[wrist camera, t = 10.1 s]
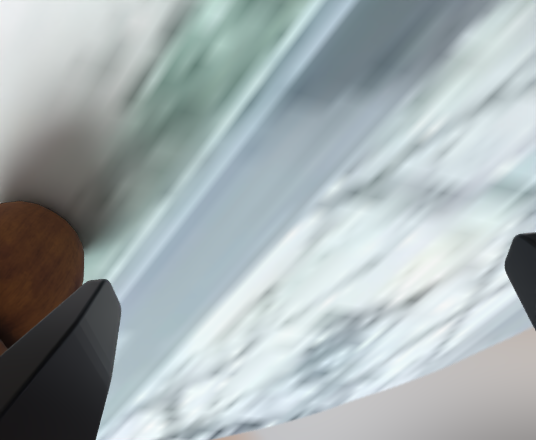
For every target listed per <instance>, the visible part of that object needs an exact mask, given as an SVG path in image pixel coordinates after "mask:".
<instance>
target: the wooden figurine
mask: <svg viewBox="0 0 536 440" xmlns="http://www.w3.org/2000/svg"><path fill="white" fill-rule="evenodd" d="M83 277H84V251H83V246H82V243H81V241H80V239H79V237H78V235H77V233H76V232H75V230H74V229H73V228H72V227H71V226H70V225H69V223H68V222H67V221H66V220H65V219H63V218H62V217H60V216H59V215H57V214H56V213H54V212H53V211H51V210H49V209H47V208H45V207H42V206H40V205H38V204H35V203H29V202H23V201H15V202H7V203H1V204H0V356H1V355H2V354H3V353H4V352H5V351H7V350H8V349H9V348H10V347H11V346H12V345H14V344H15V343H16V342H17V341H18V340H19V339H20V338H22V337H23V336H24V335H25V334H26V333H27V332H29V331H30V330H31V329H32V328H33V327H34V326H36V325H37V324H38V323H39V322H40V321H41V320H43V319H44V318H45V317H46V316H47V315H48V314H50V313H51V312H52V311H53V310H54V309H55V308H57V307H58V306H59V305H60V304H61V303H62V302H63V301H65V300H66V299H67V298H68V297H69V296H70V295H72V294H73V293H74V292H75V291H76V290H77V289H79V288H80V287H81V286H82V283H83Z"/></svg>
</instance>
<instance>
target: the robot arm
mask: <svg viewBox="0 0 536 440" xmlns="http://www.w3.org/2000/svg"><path fill="white" fill-rule="evenodd" d="M505 271H506V274H507V276H508V278H509V280H510V282H511V284H512V285H513V287H514V289H515V291H516V293H517V295H518V297H519V299H520V301H521V303H522V305H523V307H524V309H525V311H526V313H527V315H528V317H529V319H530V321H531V323H532V325H533V327H534V328H535V330H536V232H532V233H523V234H518V235H516V236H515V237H514V239H513V241H512V244H511V246H510V249H509V252H508V255H507V257H506V260H505ZM120 318H121V306H120V303H119V301H118V298H117V296H116V294H115V292H114V290H113V288H112V285H111V283H110V282H109V281H108V280H107V279H98V280H90V281H87V282H86V283H84V284H83V285H82V286H81V287H80V288H79V289H77V290H76V291H75V292H74V293H73V294H72V295H70V296H69V297H68V298H67V299H66V300H65V301H63V302H62V303H61V304H60V305H59V306H58V307H57V308H55V309H54V310H53V311H52V312H51V313H50V314H48V315H47V316H46V317H45V318H44V319H43V320H41V321H40V322H39V323H38V324H37V325H36V326H34V327H33V328H32V329H31V330H30V331H29V332H27V333H26V334H25V335H24V336H23V337H22V338H20V339H19V340H18V341H17V342H16V343H15V344H14V345H12V346H11V347H10V348H9V349H8V350H7V351H5V352H4V353H3V354H2V355H1V356H0V440H96V436H97V433H98V429H99V425H100V421H101V417H102V414H103V410H104V406H105V402H106V398H107V395H108V391H109V387H110V382H111V378H112V372H113V366H114V359H115V352H116V346H117V339H118V332H119V325H120Z"/></svg>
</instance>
